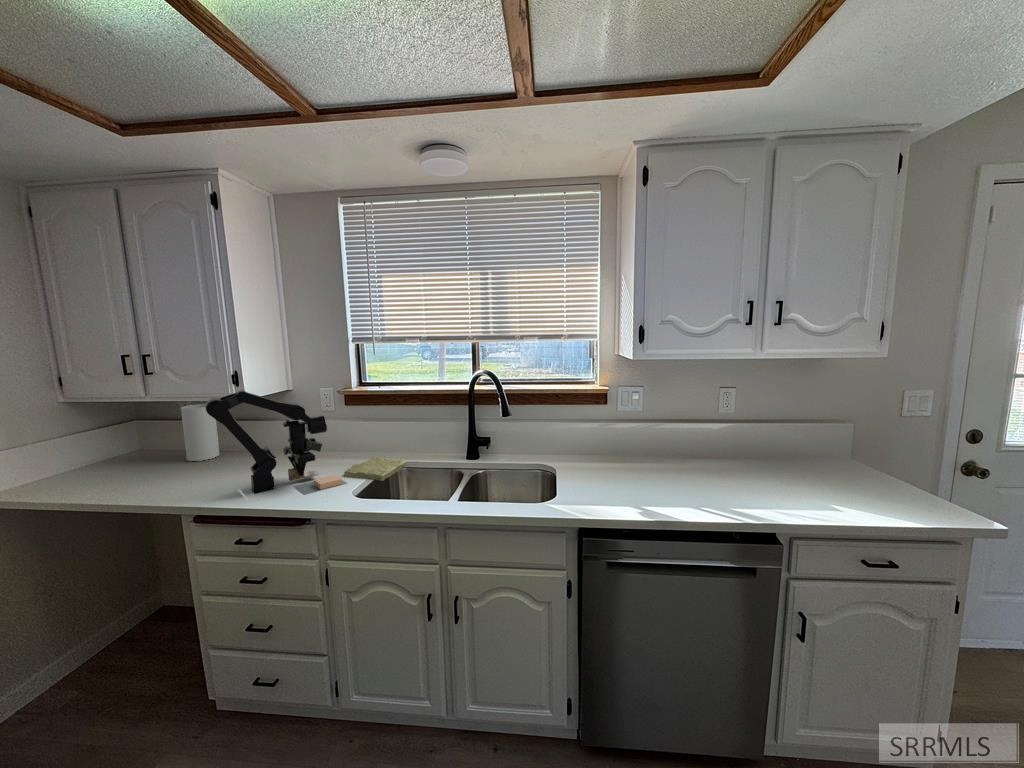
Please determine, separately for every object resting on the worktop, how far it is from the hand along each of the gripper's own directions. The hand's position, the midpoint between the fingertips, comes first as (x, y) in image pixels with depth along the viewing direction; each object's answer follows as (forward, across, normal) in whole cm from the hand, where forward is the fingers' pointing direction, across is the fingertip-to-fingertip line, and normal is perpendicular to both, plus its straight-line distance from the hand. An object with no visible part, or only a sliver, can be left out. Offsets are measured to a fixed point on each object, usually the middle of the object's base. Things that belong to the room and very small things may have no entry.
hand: (300, 474), depth 162 cm
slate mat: (+3, -10, -4) cm, 11 cm away
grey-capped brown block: (+1, 0, -1) cm, 1 cm away
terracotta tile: (+1, -12, -2) cm, 12 cm away
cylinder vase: (+3, +68, +22) cm, 72 cm away
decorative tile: (+4, -8, -27) cm, 29 cm away
